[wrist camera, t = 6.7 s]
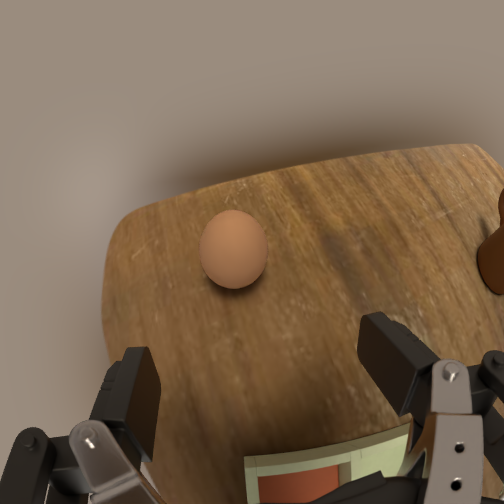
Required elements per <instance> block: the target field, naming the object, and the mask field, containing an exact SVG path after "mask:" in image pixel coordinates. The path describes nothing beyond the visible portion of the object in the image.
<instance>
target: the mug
mask: <svg viewBox="0 0 504 504" xmlns="http://www.w3.org/2000/svg"><path fill="white" fill-rule="evenodd" d="M498 209H499V214H500V227H499V228H498V229H497V230H496V231H495V232H494V233H493V234H492V235H491V236H490V237H489V238H487V239H486V240H485V241H484V242H483V243H482V245H481V246H480V248H479V252H478V264H479V268H480V272H481V274H482V277H483V279H484V281H485V282H486V284H487V285H488V286H489V288H490V289H491V290H492V291H494V292H495V293H498V294H504V189H503V190H502V192H501V194H500V197H499V202H498Z"/></svg>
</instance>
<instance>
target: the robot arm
mask: <svg viewBox="0 0 504 504" xmlns="http://www.w3.org/2000/svg"><path fill="white" fill-rule="evenodd" d="M357 354H358V358H359V360H360V362H361V364H362V365H363V366H364V368H365V369H366V371H367V372H368V373H369V375H370V376H371V378H372V379H373V380H374V382H375V383H376V385H377V386H378V387H379V389H380V390H381V392H382V393H383V395H384V396H385V397H386V399H387V400H388V402H389V403H390V405H391V406H392V407H393V409H394V410H395V412H396V413H397V415H398V416H399V417H401V416H403V415H405V414H407V413H411V414H412V418H411V421H410V427H409V433H408V438H407V444H406V449H405V453H404V458H403V462H402V464H401V467H400V469H399V471H398V473H397V476H392V477H384V476H383V474H382V472H381V470H379V471H377V472H374V473H372V474H369V475H367V476H364V477H361V478H359V479H356V480H353V481H350V482H347V483H345V484H343V485H342V486H340V487H338V488H336V489H334V490H333V491H331V492H329V493H327V494H325V495H323V496H321V497H319V498H317V499H315V500H313V501H311V502H306V503H267V502H265V503H258V504H504V485H503V490H502V491H501V492H500V495H499V498H500V500H498V499H493V498H487V497H482V496H481V493H482V482H483V457H484V455H485V456H486V458H487V459H488V461H489V462H490V464H491V465H492V467H493V468H494V470H495V471H496V473H497V474H498V476H499V477H500V479H501V481H502V482H503V484H504V419H503V418H502V416H501V415H500V414H499V413H498V412H497V410H496V409H495V408H494V407H493V406H492V405H493V404H494V402H495V400H496V399H497V397H498V398H499V399H500V400H501V401H502V402H503V403H504V353H503V352H501V351H497V350H493V351H489V352H487V353H486V354H485V355H484V357H483V359H482V361H481V364H479V365H474V366H469V367H466V366H465V365H464V364H463V363H461V362H460V361H457V360H455V359H440V358H439V357H438V356H437V355H436V354H434V353H433V352H432V351H431V350H430V349H429V348H428V347H427V346H426V345H425V344H424V343H423V342H422V341H421V340H419V338H418V337H417V336H415V335H414V334H412V332H411V331H410V330H409V329H408V328H407V327H406V326H405V325H402V324H400V323H398V322H396V321H391V320H390V319H389V318H388V317H387V316H386V315H385V314H384V313H383V312H376V313H372V314H367V315H363V316H362V318H361V322H360V330H359V338H358V345H357ZM160 396H161V383H160V379H159V376H158V373H157V370H156V367H155V364H154V362H153V359H152V356H151V353H150V350H149V348H148V347H128V348H127V349H126V351H125V354H124V357H123V359H122V361H116V362H115V363H114V364H113V365H112V366H111V367H110V368H109V369H108V371H107V373H106V376H105V378H104V382H103V383H102V385H101V390H100V391H99V393H98V396H97V398H96V401H95V404H94V406H93V410H92V412H91V415H90V418H89V420H86V421H83V422H81V423H79V424H77V425H76V426H75V427H74V428H73V429H72V431H71V433H70V435H69V436H62V437H54V438H49V437H48V436H47V435H46V434H45V433H44V432H43V430H41V429H39V428H36V427H30V428H27V429H25V430H23V431H22V432H21V433H19V434H18V436H17V437H16V439H15V442H14V444H13V447H12V449H11V452H10V455H9V458H8V460H7V463H6V466H5V469H4V472H3V475H2V478H1V481H0V504H44V501H45V496H46V491H47V487H48V484H49V485H50V486H49V490H48V495H47V500H46V504H88V496H89V493H93V495H91V496H90V500H91V502H92V504H167V503H166V502H165V501H164V500H163V499H162V498H161V496H160V495H159V494H158V493H157V492H156V490H155V489H154V488H153V487H152V486H151V484H150V483H149V482H148V481H147V479H146V478H145V477H144V475H143V474H142V473H141V471H140V466H141V462H152V457H153V448H154V439H155V431H156V424H157V416H158V409H159V403H160Z"/></svg>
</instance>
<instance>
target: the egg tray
mask: <svg viewBox="0 0 504 504" xmlns="http://www.w3.org/2000/svg"><path fill="white" fill-rule="evenodd" d="M409 427H410V423H407V424H405V425H402V426H399V427H396V428H393V429H390V430H387V431H384V432H380V433H377V434H374V435H370V436H367V437H363V438H359V439H355V440H351V441H347V442H343V443H339V444H334V445H329V446H324V447H319V448H313V449H308V450H301V451H294V452H287V453H279V454H269V455H258V456H244V468H245V479H246V490H247V500H248V504H258V503H265V502H267V503H306V502H311V501H313V500H315V499H317V498H319V497H321V496H323V495H325V494H327V493H329V492H331V491H333V490H334V489H336V488H338V487H340V486H342V485H343V484H345V483H347V482H350V481H353V480H356V479H359V478H361V477H364V476H367V475H369V474H372V473H374V472H377V471H379V470H381V472H382V474H383V476H384V477H392V476H397V473H398V471H399V469H400V467H401V464H402V462H403V458H404V453H405V449H406V444H407V438H408V433H409Z"/></svg>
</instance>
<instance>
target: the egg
mask: <svg viewBox="0 0 504 504" xmlns="http://www.w3.org/2000/svg"><path fill="white" fill-rule="evenodd" d="M199 255H200V261H201V264H202V267H203V269H204V271H205V273H206V274H207V275H208V277H209V278H210V279H211V280H213V281H214V282H215V283H216V284H218V285H220V286H223V287H225V288H231V289H238V288H242V287H245V286H247V285H249V284H251V283H253V282H254V281H255V280H256V279H257V278H258V277H259V276H260V274H261V273H262V272H263V270H264V268H265V265H266V261H267V257H268V244H267V239H266V236H265V233H264V231H263V229H262V228H261V226H260V225H259V223H258V222H257V221H256V220H255V219H254V218H253V217H251V216H250V215H249V214H247V213H245V212H243V211H239V210H227V211H223V212H221V213H219V214H217V215H216V216H215V217H214V218H212V219H211V220H210V221H209V223H208V224H207V225H206V227H205V229H204V231H203V233H202V235H201V238H200V243H199Z"/></svg>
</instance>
